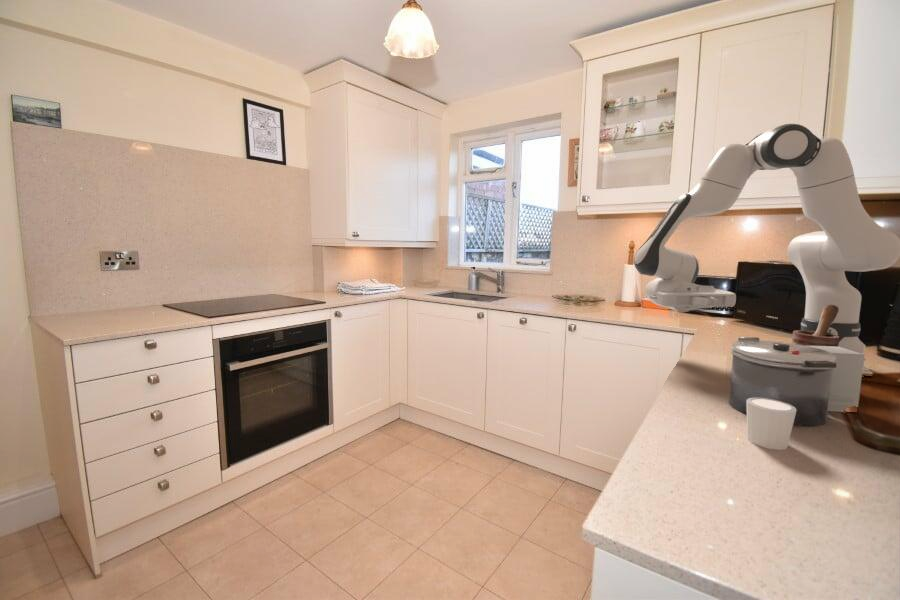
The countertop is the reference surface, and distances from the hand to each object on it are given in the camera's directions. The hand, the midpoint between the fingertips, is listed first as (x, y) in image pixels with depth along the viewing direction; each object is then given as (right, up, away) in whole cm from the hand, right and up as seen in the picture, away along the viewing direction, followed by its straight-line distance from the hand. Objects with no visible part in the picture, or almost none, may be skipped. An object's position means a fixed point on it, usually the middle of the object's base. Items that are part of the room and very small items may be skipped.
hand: (712, 302), depth 105 cm
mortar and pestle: (+23, -21, -3) cm, 31 cm away
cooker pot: (0, -23, -20) cm, 30 cm away
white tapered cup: (-13, -25, -34) cm, 44 cm away
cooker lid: (0, -11, -22) cm, 24 cm away
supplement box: (+13, -23, -18) cm, 32 cm away
